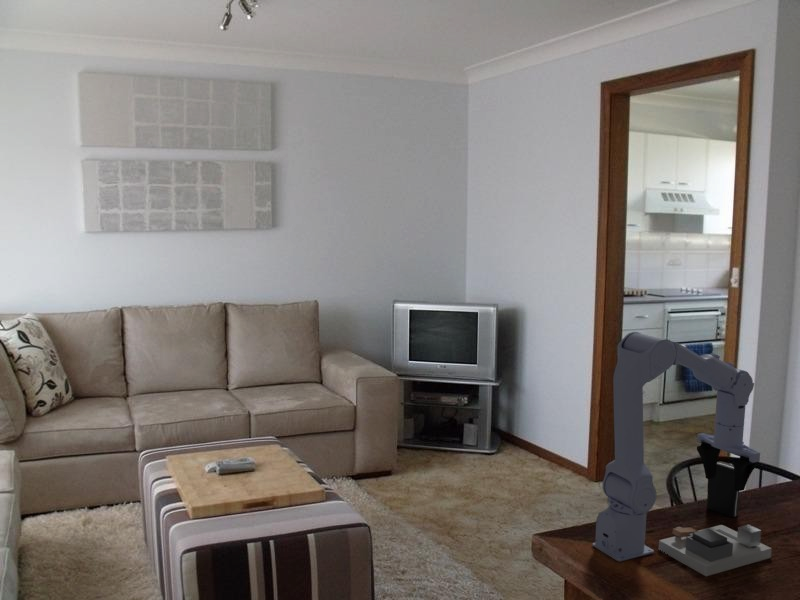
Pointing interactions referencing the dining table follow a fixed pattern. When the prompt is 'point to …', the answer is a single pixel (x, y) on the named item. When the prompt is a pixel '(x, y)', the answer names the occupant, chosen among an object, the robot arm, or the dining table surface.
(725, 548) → the control panel
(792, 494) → the dining table surface
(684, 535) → the rocker switch
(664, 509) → the dining table surface
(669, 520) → the dining table surface
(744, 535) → the slider knob
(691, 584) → the dining table surface
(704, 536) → the push button
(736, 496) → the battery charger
